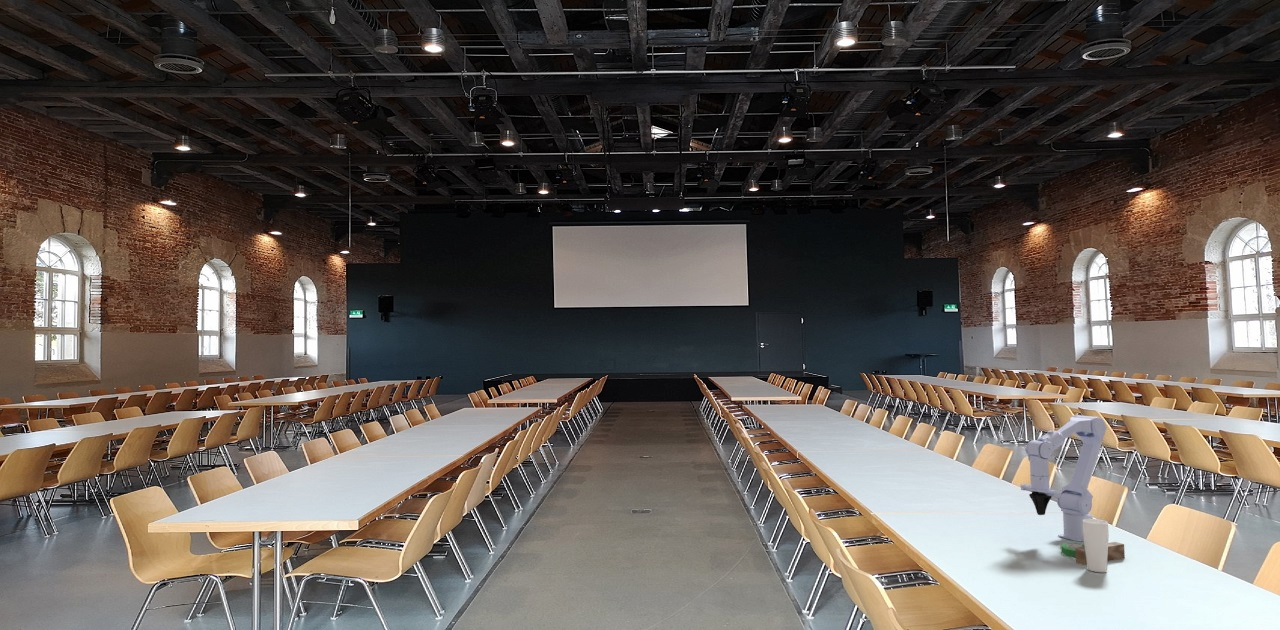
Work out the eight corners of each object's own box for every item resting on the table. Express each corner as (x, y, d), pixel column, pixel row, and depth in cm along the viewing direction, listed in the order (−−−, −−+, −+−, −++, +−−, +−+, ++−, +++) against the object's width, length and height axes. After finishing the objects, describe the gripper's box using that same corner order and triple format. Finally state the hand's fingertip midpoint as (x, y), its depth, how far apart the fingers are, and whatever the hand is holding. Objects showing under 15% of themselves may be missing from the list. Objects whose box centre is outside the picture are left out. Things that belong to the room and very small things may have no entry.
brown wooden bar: (1115, 555, 236) (1115, 541, 237) (1124, 558, 234) (1124, 544, 234) (1075, 562, 230) (1075, 548, 230) (1084, 565, 227) (1083, 550, 227)
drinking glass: (1106, 567, 224) (1104, 519, 225) (1113, 574, 218) (1110, 524, 218) (1081, 566, 227) (1079, 517, 227) (1087, 572, 220) (1085, 523, 221)
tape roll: (1054, 550, 244) (1054, 542, 244) (1087, 550, 244) (1087, 542, 244) (1073, 560, 233) (1073, 552, 233) (1108, 560, 233) (1107, 551, 233)
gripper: (1013, 472, 258) (1015, 511, 258) (1049, 479, 245) (1050, 520, 244) (1028, 471, 261) (1030, 509, 260) (1064, 478, 247) (1066, 518, 247)
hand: (1041, 514), depth 252 cm, fingers closed
